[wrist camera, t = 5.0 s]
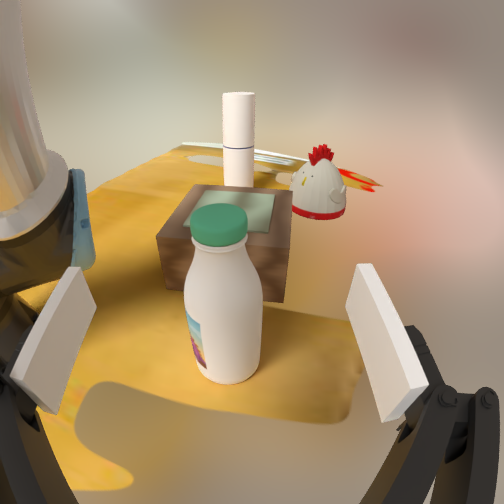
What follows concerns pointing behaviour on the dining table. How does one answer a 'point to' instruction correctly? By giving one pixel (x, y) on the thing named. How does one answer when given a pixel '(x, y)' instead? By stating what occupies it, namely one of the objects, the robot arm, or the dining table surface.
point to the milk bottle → (223, 295)
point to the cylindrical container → (238, 138)
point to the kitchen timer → (318, 187)
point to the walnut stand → (259, 234)
